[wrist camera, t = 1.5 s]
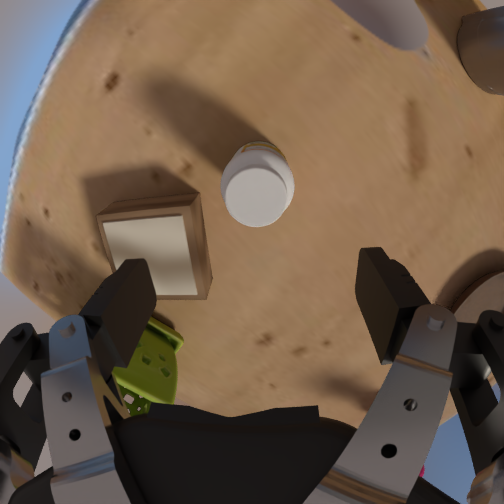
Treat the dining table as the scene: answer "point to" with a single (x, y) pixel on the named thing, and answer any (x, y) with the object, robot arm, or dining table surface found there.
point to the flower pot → (151, 368)
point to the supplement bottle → (257, 184)
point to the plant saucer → (480, 298)
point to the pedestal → (161, 242)
